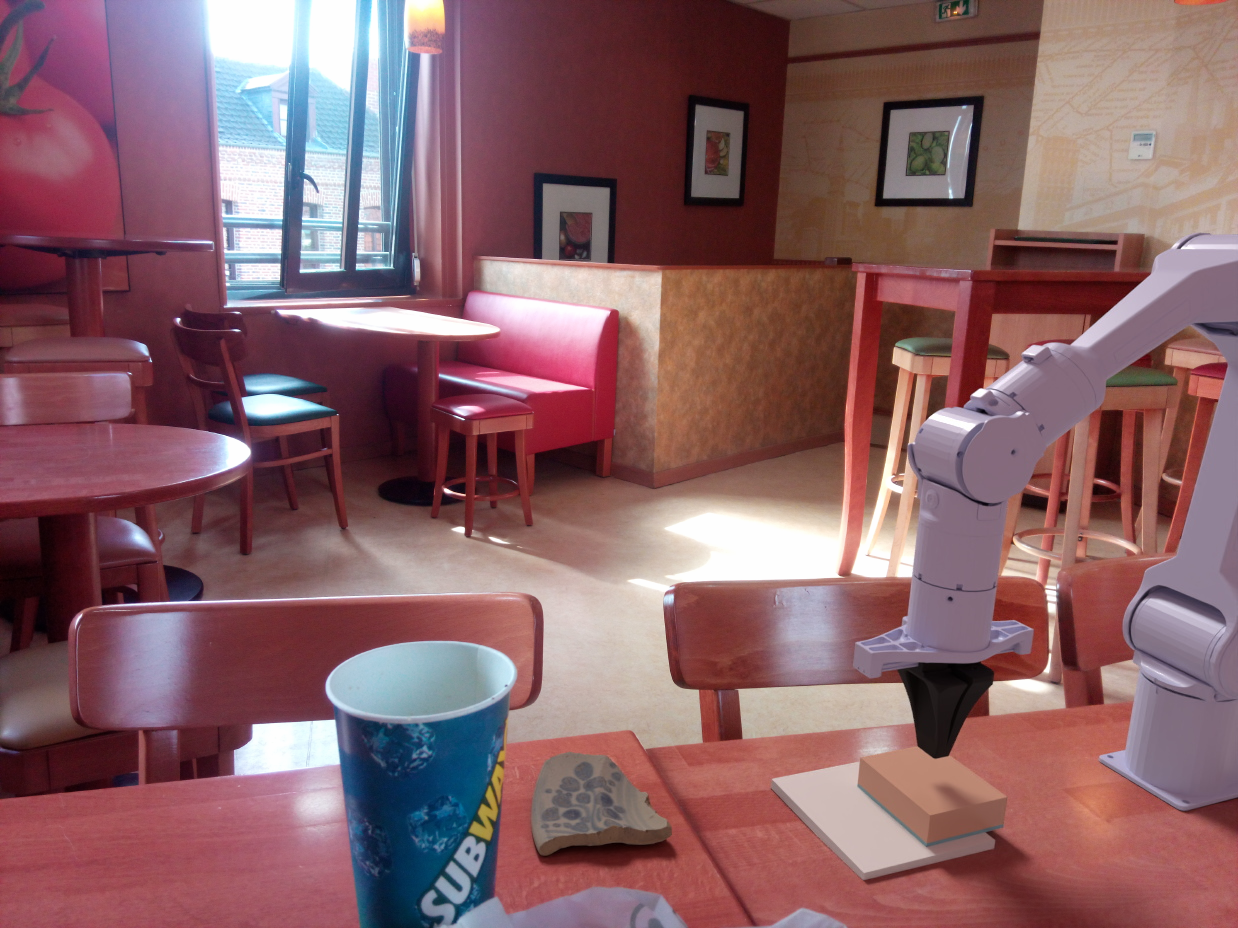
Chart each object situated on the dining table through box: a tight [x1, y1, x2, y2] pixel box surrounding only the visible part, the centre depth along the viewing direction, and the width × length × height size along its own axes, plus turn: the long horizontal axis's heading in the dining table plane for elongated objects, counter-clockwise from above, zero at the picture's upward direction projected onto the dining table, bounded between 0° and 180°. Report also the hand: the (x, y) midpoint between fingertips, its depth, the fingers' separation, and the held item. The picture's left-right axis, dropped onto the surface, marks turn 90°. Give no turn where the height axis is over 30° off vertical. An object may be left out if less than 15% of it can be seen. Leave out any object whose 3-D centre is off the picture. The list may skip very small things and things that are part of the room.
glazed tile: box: [857, 745, 1008, 847], centre depth 69 cm, size 2×8×7 cm
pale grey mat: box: [770, 761, 996, 881], centre depth 69 cm, size 11×12×1 cm
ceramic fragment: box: [530, 751, 673, 857], centre depth 68 cm, size 11×3×10 cm
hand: (932, 750), depth 69 cm, fingers closed
